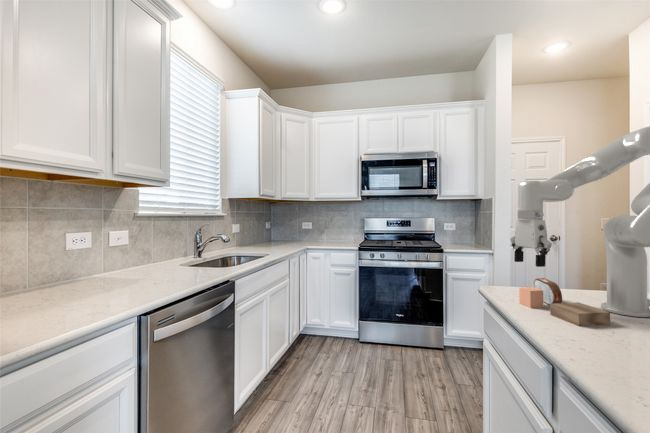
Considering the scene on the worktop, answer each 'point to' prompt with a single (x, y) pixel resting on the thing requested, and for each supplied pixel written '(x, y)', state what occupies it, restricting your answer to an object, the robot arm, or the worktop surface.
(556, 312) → the walnut base
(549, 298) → the tin
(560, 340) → the worktop surface
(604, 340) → the worktop surface
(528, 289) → the salmon pink block
